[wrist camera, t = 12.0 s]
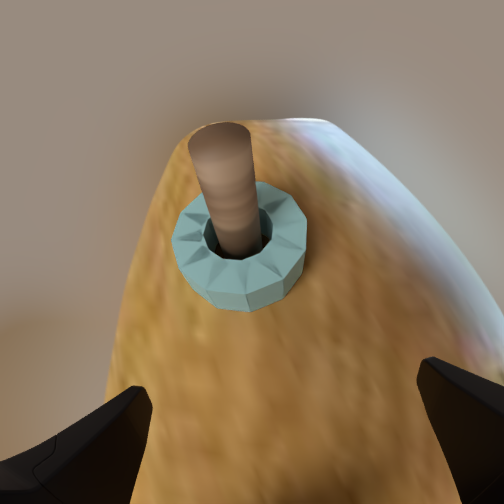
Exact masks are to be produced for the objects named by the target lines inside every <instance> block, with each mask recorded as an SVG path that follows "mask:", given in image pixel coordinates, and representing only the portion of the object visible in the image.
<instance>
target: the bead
mask: <svg viewBox="0 0 504 504" xmlns="http://www.w3.org/2000/svg"><path fill="white" fill-rule="evenodd" d="M256 190H257V199H258V209H259V218H260V227H261V234H263V235H265V236H267V237H268V238H269V240H270V242H269V243H268V244H267V245H266V247H265V248H264V249H263V250H262V251H261V252H260V253H259V254H256V255H254V256H251V257H249V258H246V259H244V260H231V259H222V258H220V257H219V256H217V255H216V254H215V249H216V245H217V244H218V243H219V241H218V238H217V235H216V232H215V229H214V226H213V223H212V220H211V217H210V214H209V211H208V208H207V205H206V202H205V199H204V196H203V193H201V194H200V195H199V196H198V197H197V198H196V199H194V200H193V201H192V202H191V203H190V204H189V205H188V206H187V207H186V208H185V209H184V210H183V211H182V212H181V213H180V216H179V219H178V221H177V224H176V227H175V230H174V233H173V236H172V239H171V242H172V246H173V249H174V253H175V257H176V260H177V264H178V267H179V270H180V271H181V273H182V274H183V276H184V277H185V278H186V280H187V281H188V283H189V284H190V286H191V287H192V288H193V290H194V291H196V292H197V293H198V294H200V295H201V296H202V297H203V298H205V299H206V300H207V301H208V302H210V303H211V304H212V305H214V306H215V307H216V308H219V309H228V310H236V311H245V312H252V311H255V310H257V309H260V308H262V307H265V306H267V305H269V304H272V303H274V302H277V301H279V300H281V299H283V298H284V297H285V295H286V294H287V293H288V292H289V290H290V289H291V288H292V286H293V285H294V284H295V282H296V281H297V280H298V278H299V277H300V276H301V274H302V271H303V265H304V258H305V252H306V233H307V219H306V217H305V216H304V214H303V213H302V211H301V210H300V208H299V207H298V205H297V204H296V202H295V201H294V199H293V198H292V196H291V195H290V194H288V193H286V192H284V191H281V190H279V189H277V188H275V187H273V186H271V185H269V184H267V183H265V182H256Z"/></svg>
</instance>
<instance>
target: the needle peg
mask: <svg viewBox="0 0 504 504" xmlns="http://www.w3.org/2000/svg"><path fill="white" fill-rule="evenodd" d="M188 149H189V153H190V156H191V159H192V162H193V165H194V168H195V171H196V175H197V178H198V181H199V184H200V187H201V190H202V193H203V196H204V199H205V202H206V205H207V208H208V211H209V214H210V217H211V220H212V223H213V226H214V229H215V232H216V235H217V238H218V241H219V243H220V246H221V249H222V252H223V255H224V258H225V259H231V260H244V259H246V258H249V257H251V256H254V255H256V254H259V253H260V252H261V251H262V250H263V247H262V237H261V227H260V218H259V209H258V199H257V190H256V181H255V172H254V163H253V154H252V145H251V137H250V132H249V130H248V129H247V128H246V127H244V126H242V125H240V124H237V123H229V122H225V123H216V124H212V125H209V126H206V127H204V128H202V129H200V130H199V131H197V132H196V133H195V134H194V135H193V136H192V137H191V138H190V140H189V142H188Z"/></svg>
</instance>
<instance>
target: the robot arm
mask: <svg viewBox="0 0 504 504" xmlns="http://www.w3.org/2000/svg"><path fill="white" fill-rule="evenodd" d="M417 386H418V389H419V391H420V394H421V397H422V400H423V403H424V406H425V409H426V412H427V415H428V418H429V420H430V423H431V425H432V427H433V430H434V432H435V434H436V436H437V439H438V441H439V443H440V446H441V448H442V451H443V453H444V456H445V458H446V461H447V463H448V466H449V468H450V471H451V473H452V476H453V479H454V482H455V484H456V487H457V490H458V493H459V496H460V499H461V502H462V504H504V386H502V385H499V384H497V383H494V382H492V381H489V380H487V379H485V378H482V377H480V376H478V375H475V374H473V373H471V372H468V371H466V370H464V369H461V368H459V367H457V366H454V365H452V364H450V363H447V362H445V361H443V360H440V359H438V358H436V357H429V358H425V359H423V360H422V361H421V364H420V368H419V371H418V375H417ZM152 410H153V407H152V403H151V400H150V398H149V396H148V394H147V392H146V389H145V388H144V387H142V386H131V387H129V388H128V389H126V390H125V391H123V392H122V393H120V394H119V395H117V396H116V397H114V398H113V399H111V400H110V401H108V402H107V403H105V404H104V405H102V406H101V407H99V408H98V409H96V410H95V411H93V412H92V413H90V414H88V415H87V416H85V417H84V418H82V419H80V420H79V421H77V422H76V423H74V424H72V425H71V426H69V427H68V428H66V429H65V430H63V431H61V432H60V433H58V434H57V435H55V436H53V437H51V438H50V439H48V440H46V441H44V442H43V443H41V444H39V445H37V446H35V447H33V448H31V449H29V450H27V451H25V452H22V453H20V454H18V455H15V456H13V457H11V458H8V459H6V460H3V461H0V504H130V500H131V497H132V493H133V489H134V486H135V482H136V479H137V475H138V472H139V468H140V465H141V461H142V458H143V455H144V451H145V447H146V443H147V438H148V432H149V426H150V421H151V415H152Z"/></svg>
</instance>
